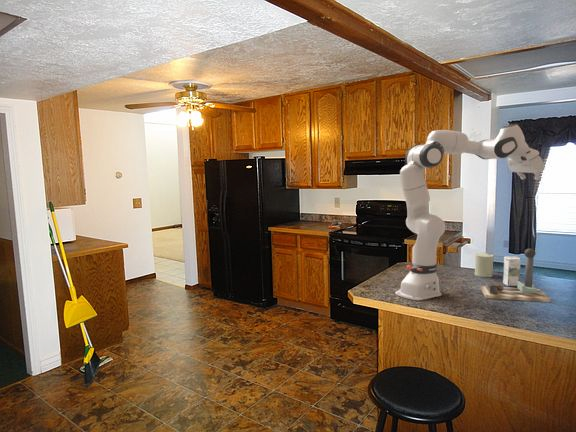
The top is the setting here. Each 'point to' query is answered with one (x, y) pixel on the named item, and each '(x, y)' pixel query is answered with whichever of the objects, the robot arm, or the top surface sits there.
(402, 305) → the top surface
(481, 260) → the can
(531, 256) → the press handle
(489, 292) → the press frame
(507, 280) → the syrup box
